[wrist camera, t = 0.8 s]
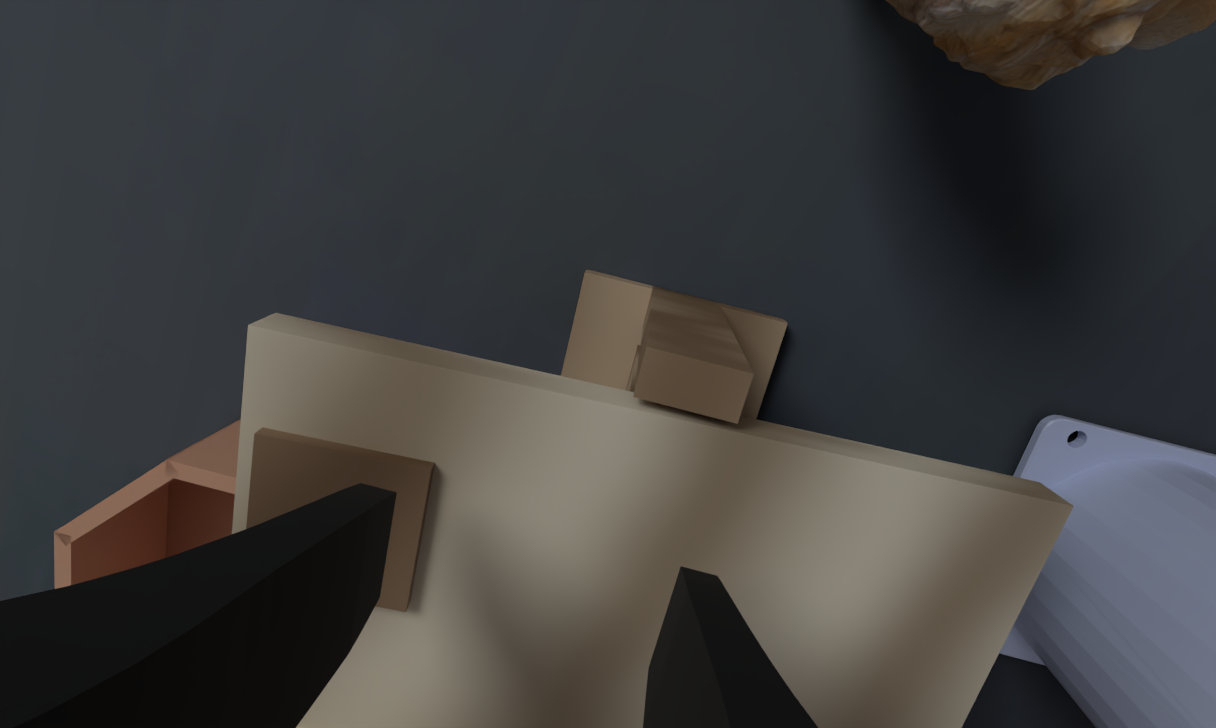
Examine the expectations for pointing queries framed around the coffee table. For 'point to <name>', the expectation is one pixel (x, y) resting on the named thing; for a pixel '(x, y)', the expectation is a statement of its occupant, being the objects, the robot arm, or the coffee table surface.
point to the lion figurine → (1049, 31)
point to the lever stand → (672, 347)
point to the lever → (625, 540)
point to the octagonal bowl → (154, 513)
